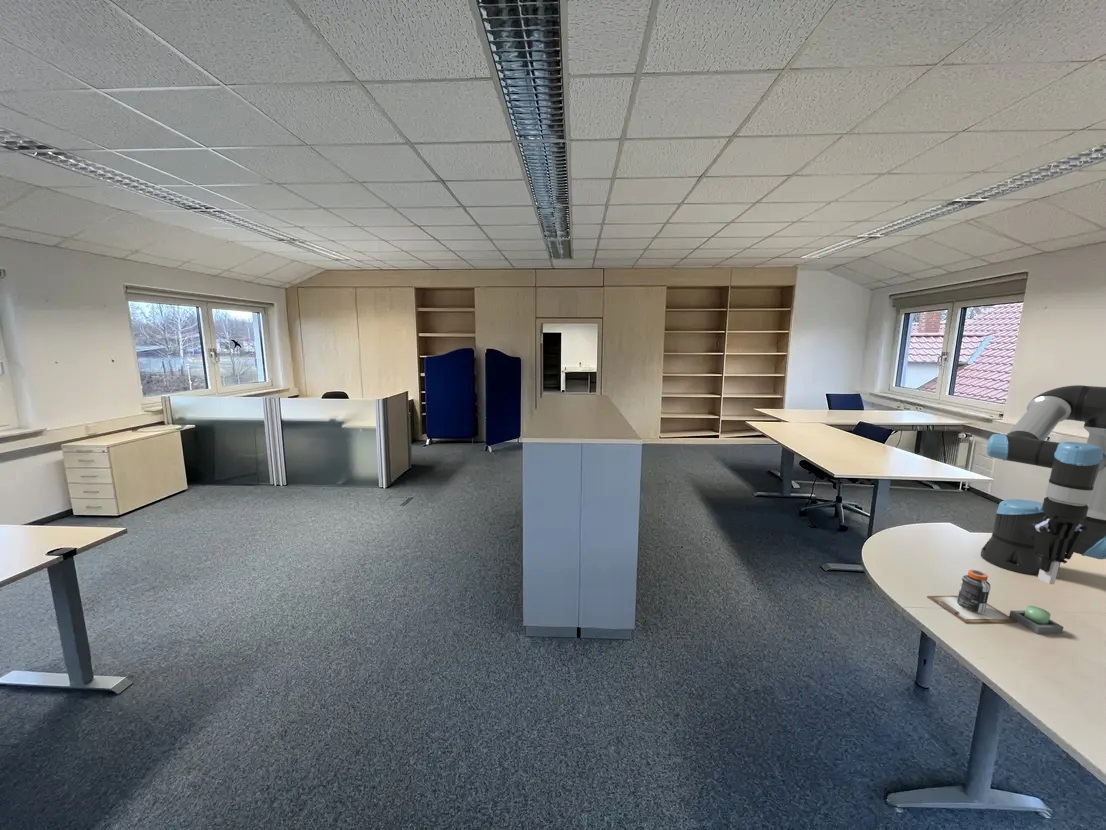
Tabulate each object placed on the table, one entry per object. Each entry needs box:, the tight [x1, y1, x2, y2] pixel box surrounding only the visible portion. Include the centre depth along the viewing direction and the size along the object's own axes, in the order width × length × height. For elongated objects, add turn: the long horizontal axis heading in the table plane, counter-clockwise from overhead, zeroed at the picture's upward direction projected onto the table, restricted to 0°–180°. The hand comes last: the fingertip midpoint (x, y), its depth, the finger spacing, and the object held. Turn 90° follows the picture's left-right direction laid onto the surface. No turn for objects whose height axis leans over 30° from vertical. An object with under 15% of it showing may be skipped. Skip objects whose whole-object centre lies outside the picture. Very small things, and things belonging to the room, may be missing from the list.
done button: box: [1024, 605, 1051, 625], centre depth 116 cm, size 4×4×3 cm
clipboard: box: [926, 595, 1018, 624], centre depth 123 cm, size 15×12×1 cm
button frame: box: [1008, 609, 1064, 635], centre depth 117 cm, size 7×7×2 cm
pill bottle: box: [957, 569, 991, 613], centre depth 122 cm, size 6×6×11 cm
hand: (1045, 581), depth 114 cm, fingers closed
